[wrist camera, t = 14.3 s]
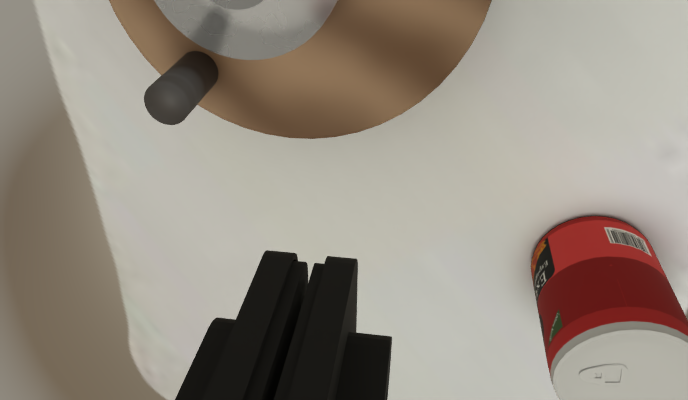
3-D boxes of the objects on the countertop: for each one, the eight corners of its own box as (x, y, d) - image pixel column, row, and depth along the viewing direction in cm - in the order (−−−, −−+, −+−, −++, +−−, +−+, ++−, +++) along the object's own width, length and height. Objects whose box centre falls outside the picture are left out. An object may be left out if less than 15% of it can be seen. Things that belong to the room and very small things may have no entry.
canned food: (516, 229, 41) (536, 346, 32) (639, 197, 39) (699, 315, 30) (544, 309, 45) (569, 436, 36) (659, 285, 42) (718, 415, 33)
